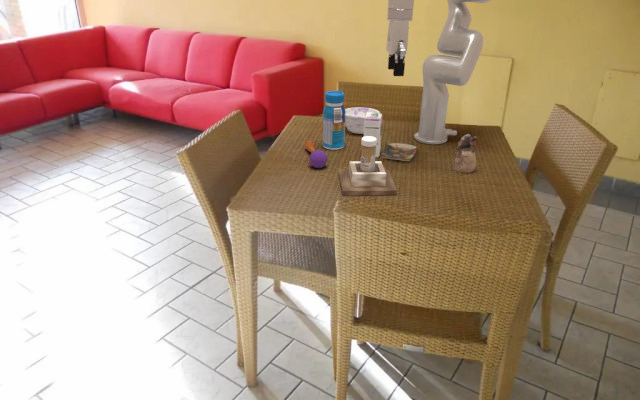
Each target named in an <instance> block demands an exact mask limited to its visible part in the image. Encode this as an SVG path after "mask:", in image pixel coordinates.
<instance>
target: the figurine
mask: <svg viewBox="0 0 640 400" xmlns="http://www.w3.org/2000/svg"><path fill="white" fill-rule="evenodd" d="M477 137H478V136H476V135H474V136H472V135H471V134H469V133H467V134H465V135H463V136H462V137H461V138H460V140H459V141H458V142H457V148H456V150H457V152H456V155H455V159H454V161H453V166H452V169H453V170H454V172H458V173H463V174H468V173H470V174H471V173H473V172H474V171H475V170H476V166H477V165H476V164H477V163H476V162H477V161H476V159H477V158H476V149H477V147H478V146H477V145H478V144H477V142H476V139H478V138H477Z"/></svg>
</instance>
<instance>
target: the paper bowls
mask: <svg viewBox="0 0 640 400" xmlns="http://www.w3.org/2000/svg"><path fill="white" fill-rule="evenodd" d="M345 110H346V114H345V117H346V122H345V128H346V129H347V131H348V132H350V133H353V134H356V135H357V134H358V135H364V117H365V115H366V113H370V112H374V113H381V111H379V110H378V109H376V108H371V107H363V106H362V107H360V106H359V107H358V106H357V107H356V106H355V107H348V108H345Z"/></svg>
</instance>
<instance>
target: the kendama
mask: <svg viewBox="0 0 640 400" xmlns="http://www.w3.org/2000/svg"><path fill="white" fill-rule="evenodd" d="M304 148H305V149H306V150H307V151H308V152H309V153H310V154H309V163H310V165H311V166H312V167H313V168H316V169H321V168H324V167H325V166H326V165H327V163H328V155H327V154H326V152H324V151H323V150H321V149H315V145H314V142H313V141H312V140H307V141H305V143H304Z"/></svg>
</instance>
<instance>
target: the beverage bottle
mask: <svg viewBox="0 0 640 400" xmlns="http://www.w3.org/2000/svg"><path fill="white" fill-rule="evenodd" d="M324 96H325V97H324V98H325V99H324V100H325V105H324V108H323V110H322V113H323V116H322V122H323V123H322V131H323V132H322V147H323V148H324V149H327V150H331V151H335V150H336V151H337V150H341V149H344V147H346V144H345V137H346V136H345V135H346V134H345V133H346V126H345V122H346V117H345V114H346V110H345V109H346V107H345V106H344V102H345V93H344V92H343V91H341V90H329V91H326V92H325V94H324Z"/></svg>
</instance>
